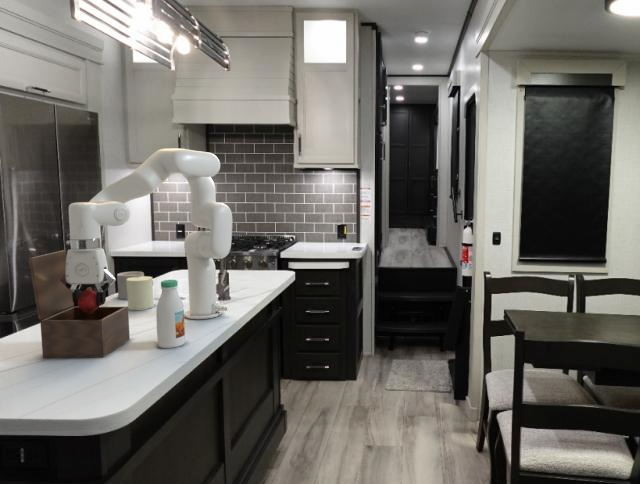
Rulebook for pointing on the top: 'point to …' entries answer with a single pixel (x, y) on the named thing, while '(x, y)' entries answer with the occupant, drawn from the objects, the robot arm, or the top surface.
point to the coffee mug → (125, 282)
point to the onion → (88, 301)
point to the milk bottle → (170, 316)
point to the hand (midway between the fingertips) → (89, 304)
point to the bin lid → (50, 283)
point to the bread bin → (84, 332)
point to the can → (140, 293)
